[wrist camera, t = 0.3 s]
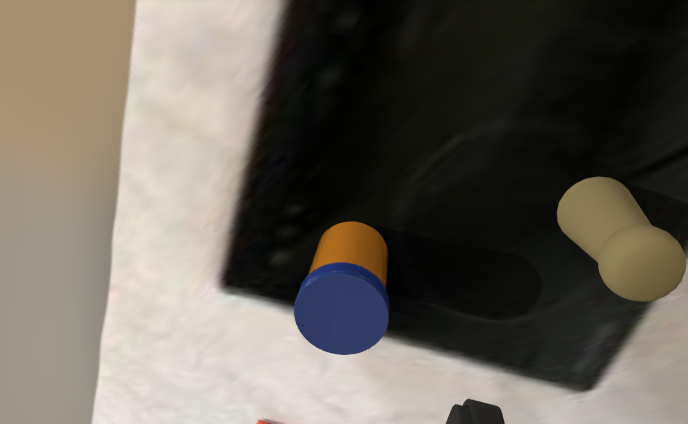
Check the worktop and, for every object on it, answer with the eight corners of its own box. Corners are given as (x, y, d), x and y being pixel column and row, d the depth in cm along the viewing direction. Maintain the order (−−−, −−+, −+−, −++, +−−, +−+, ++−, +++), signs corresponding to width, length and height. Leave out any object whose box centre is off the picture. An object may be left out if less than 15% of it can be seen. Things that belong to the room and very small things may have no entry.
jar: (332, 210, 47) (316, 261, 38) (399, 237, 47) (398, 293, 38) (307, 269, 49) (287, 329, 40) (371, 294, 49) (365, 359, 41)
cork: (554, 244, 46) (597, 316, 36) (559, 178, 43) (607, 234, 33) (628, 242, 45) (694, 315, 35) (637, 174, 43) (710, 231, 33)
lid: (316, 247, 39) (313, 258, 37) (404, 282, 39) (404, 294, 38) (286, 321, 42) (281, 334, 40) (368, 352, 42) (367, 367, 40)
